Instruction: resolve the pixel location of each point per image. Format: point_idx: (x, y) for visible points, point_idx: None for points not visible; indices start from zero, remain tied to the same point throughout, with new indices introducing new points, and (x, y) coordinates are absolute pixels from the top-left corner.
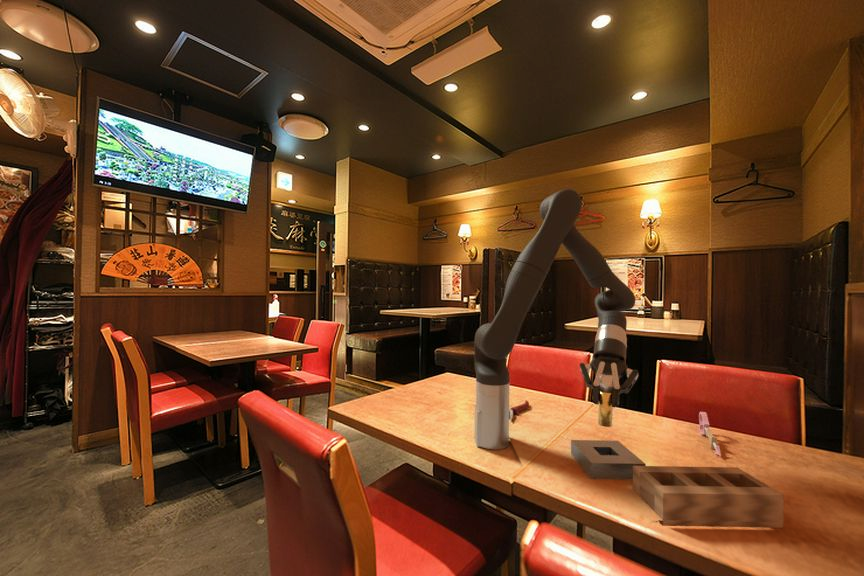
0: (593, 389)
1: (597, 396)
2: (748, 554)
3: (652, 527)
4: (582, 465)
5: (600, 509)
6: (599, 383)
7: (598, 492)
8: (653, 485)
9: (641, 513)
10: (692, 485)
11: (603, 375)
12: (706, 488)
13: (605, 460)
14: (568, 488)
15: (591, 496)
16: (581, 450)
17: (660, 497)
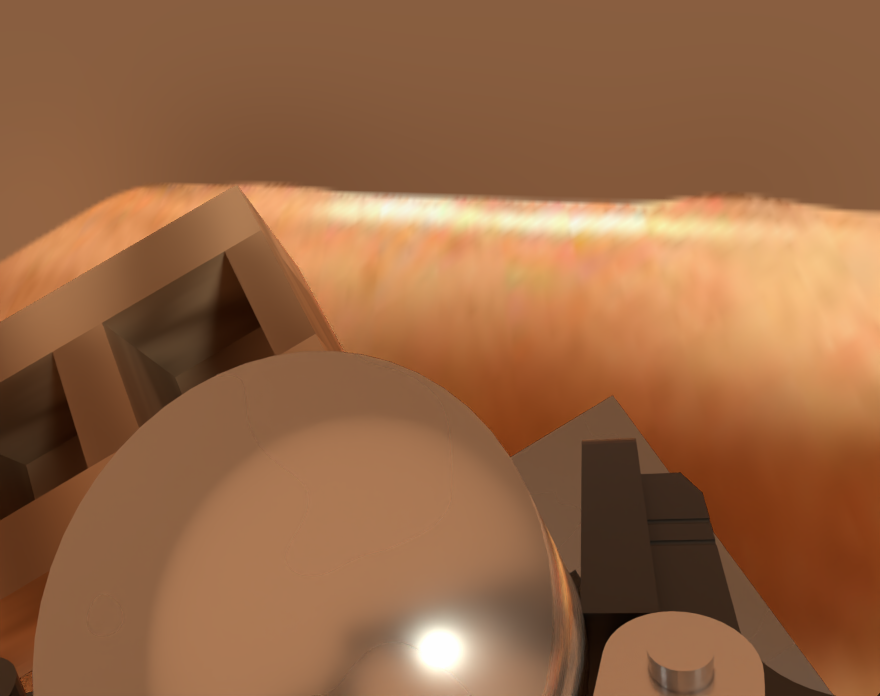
0: (718, 604)
1: (596, 466)
2: (68, 271)
3: (336, 234)
4: None
5: (532, 230)
6: (567, 574)
7: (561, 365)
8: (268, 242)
9: (368, 303)
10: (83, 339)
11: (383, 374)
12: (29, 346)
13: (531, 494)
14: (714, 312)
15: (587, 308)
16: (734, 576)
17: (258, 217)
